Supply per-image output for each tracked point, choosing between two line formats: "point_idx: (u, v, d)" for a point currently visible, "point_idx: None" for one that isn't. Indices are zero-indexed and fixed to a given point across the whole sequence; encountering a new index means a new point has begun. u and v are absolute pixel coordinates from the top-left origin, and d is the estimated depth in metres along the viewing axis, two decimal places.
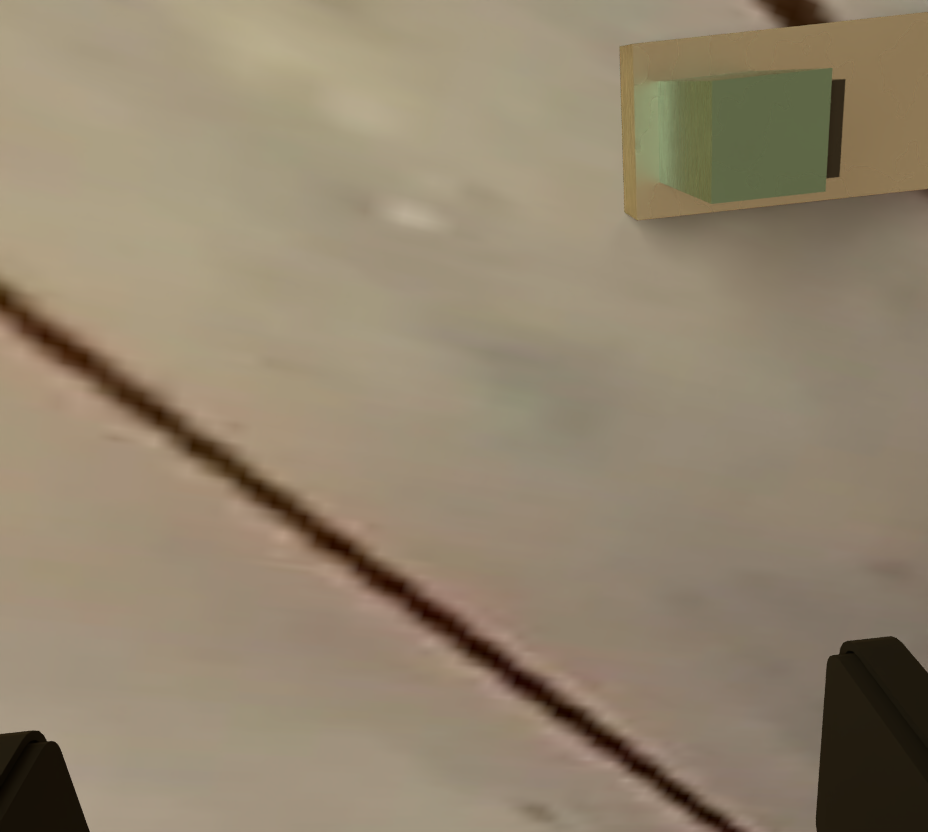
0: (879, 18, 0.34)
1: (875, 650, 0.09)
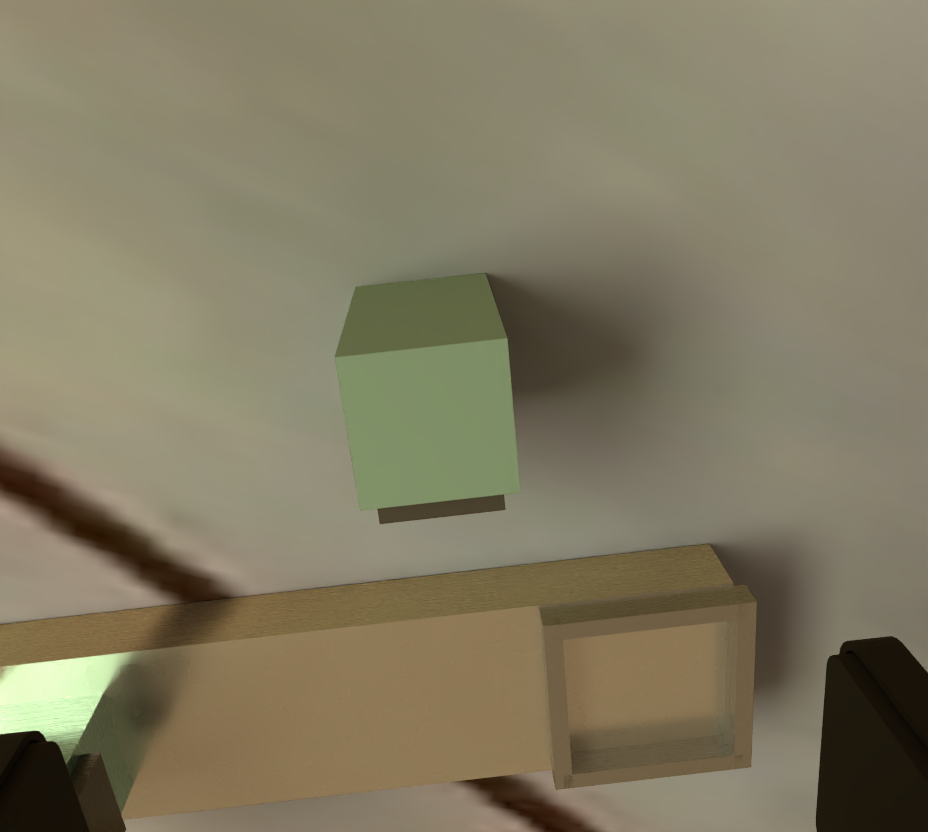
0: (243, 640, 0.27)
1: (875, 650, 0.09)
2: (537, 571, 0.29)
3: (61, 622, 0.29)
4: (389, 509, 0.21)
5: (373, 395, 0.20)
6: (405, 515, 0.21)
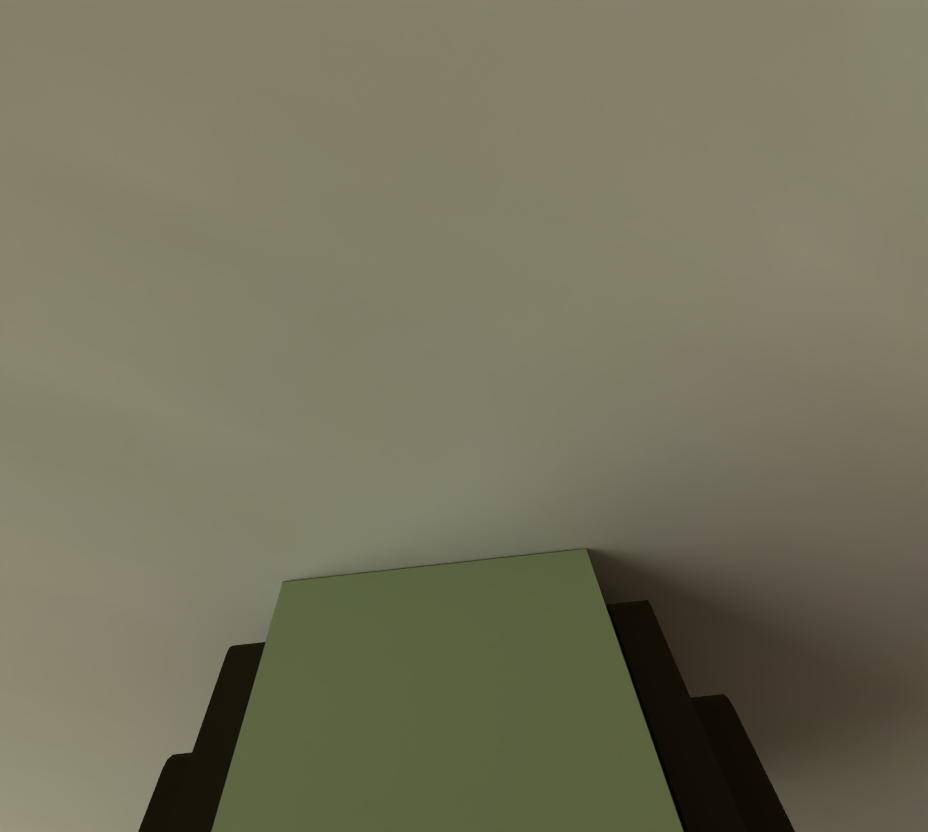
0: None
1: (625, 611, 0.10)
2: None
3: None
4: None
5: None
6: None
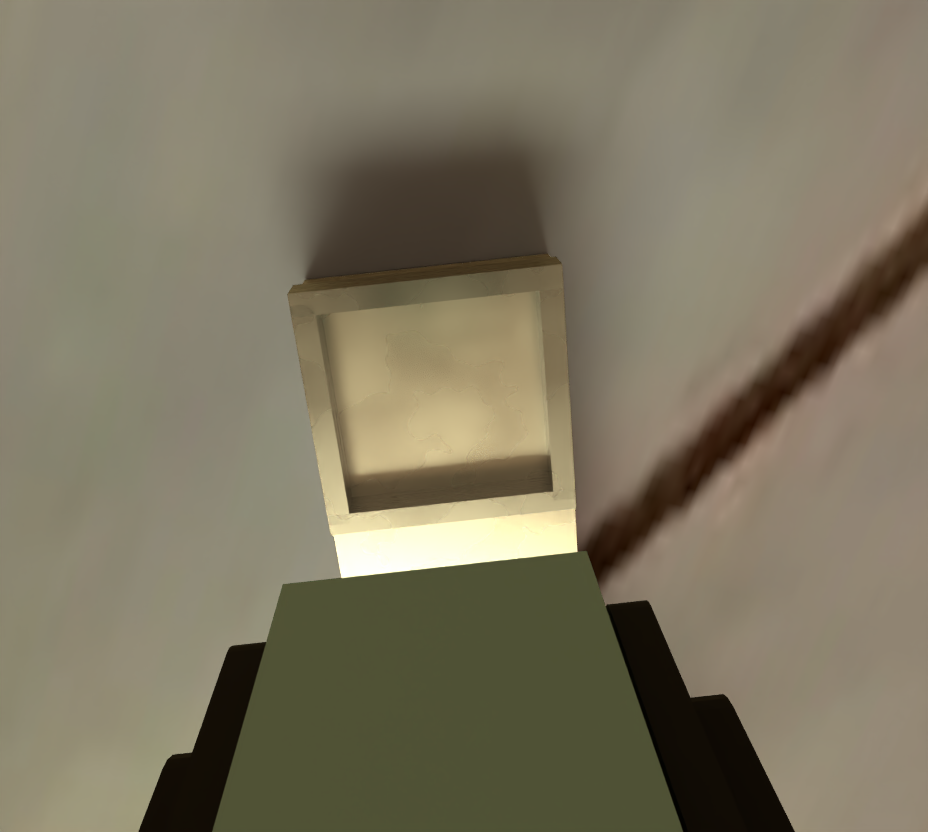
0: None
1: (625, 611, 0.10)
2: None
3: None
4: None
5: None
6: None
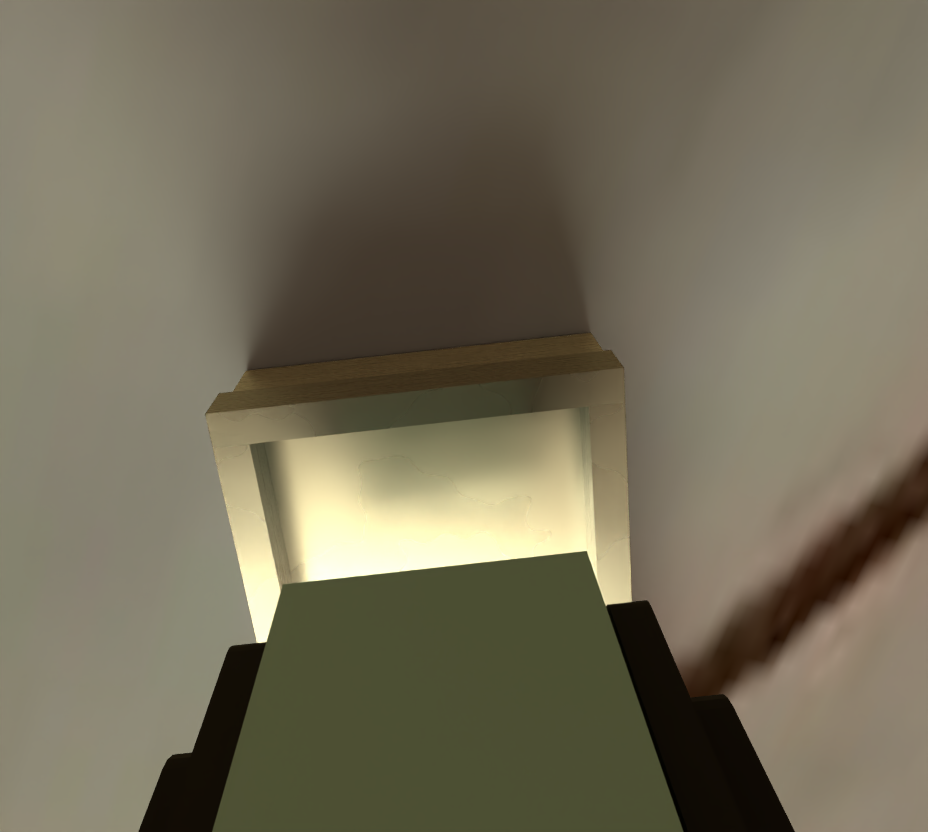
0: None
1: (625, 612, 0.10)
2: None
3: None
4: None
5: None
6: None
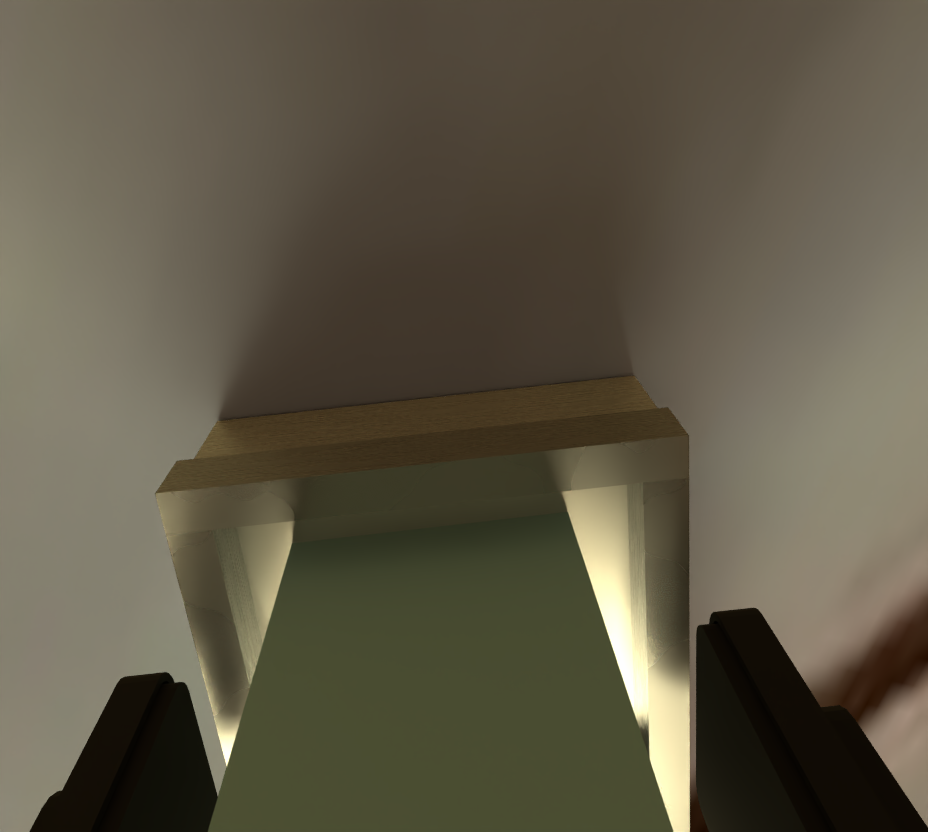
0: None
1: (735, 619, 0.10)
2: None
3: None
4: None
5: None
6: None
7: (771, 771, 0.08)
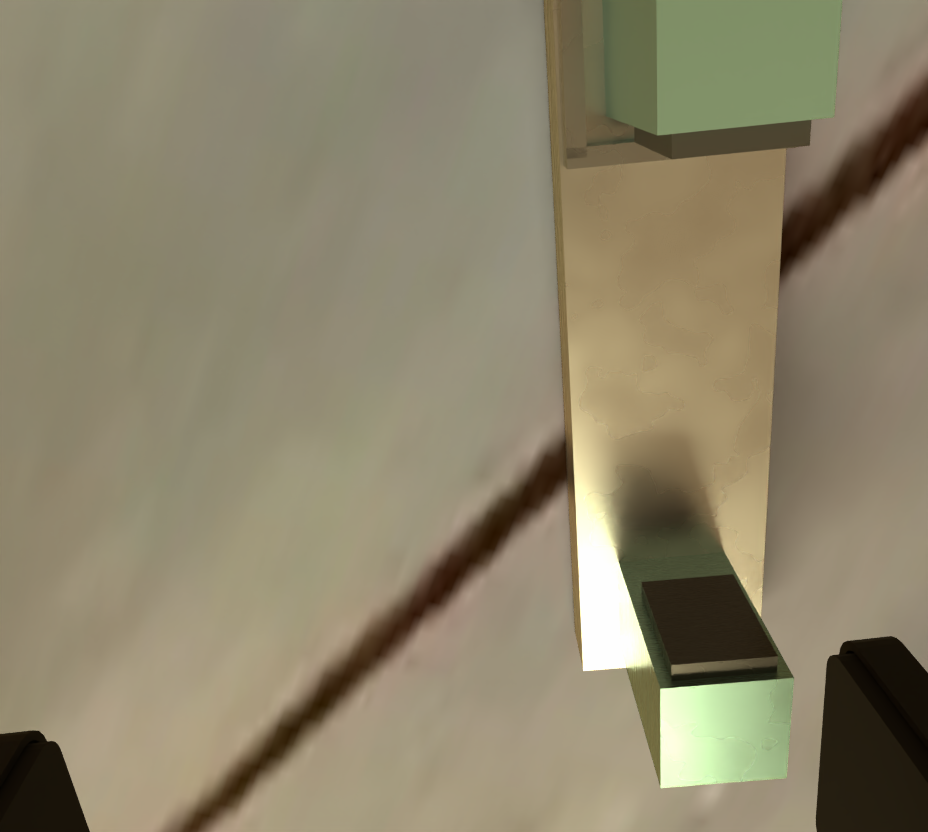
0: (574, 446, 0.30)
1: (875, 650, 0.09)
2: (552, 151, 0.28)
3: (572, 573, 0.35)
4: (684, 141, 0.20)
5: None
6: (700, 149, 0.20)
7: None
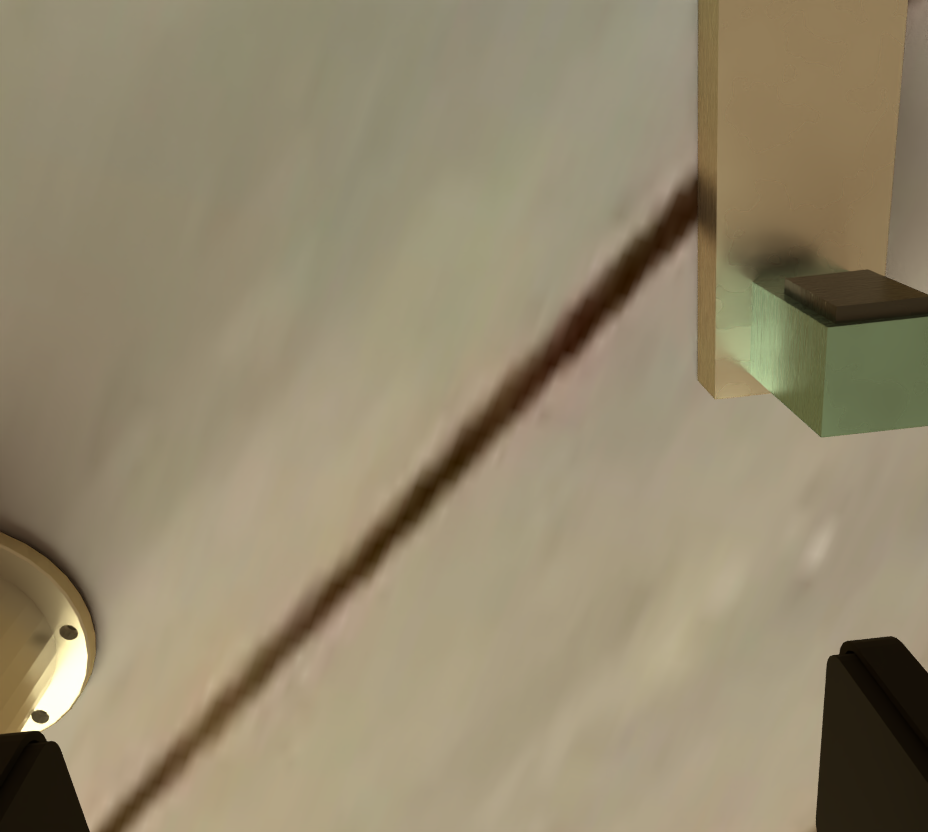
0: (718, 160, 0.33)
1: (875, 650, 0.09)
2: None
3: (699, 315, 0.37)
4: None
5: None
6: None
7: None
